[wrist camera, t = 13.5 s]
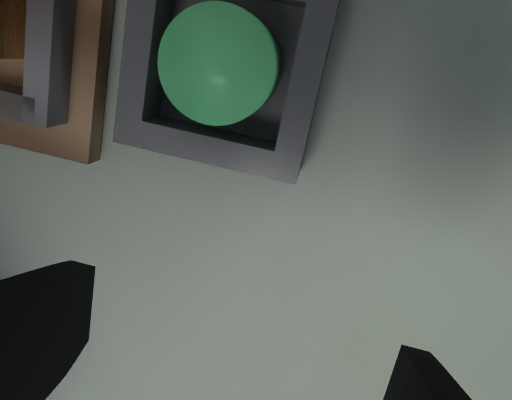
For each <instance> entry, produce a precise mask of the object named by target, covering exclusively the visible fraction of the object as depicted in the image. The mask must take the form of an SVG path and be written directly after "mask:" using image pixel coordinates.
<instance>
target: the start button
mask: <svg viewBox="0 0 512 400" xmlns="http://www.w3.org/2000/svg"><path fill="white" fill-rule="evenodd" d="M157 63H158V73H159V78H160V81H161V85H162V87H163V89H164V92H165V93H166V95H167V97H168V99H169V100H170V101H171V103H172V104H173V105H174V106H175V107H176V108H177V109H178V110H179V111H180V112H181V113H182V114H184V115H185V116H187V117H188V118H190V119H192V120H194V121H196V122H199V123H202V124H205V125H212V126H223V125H229V124H233V123H236V122H239V121H241V120H243V119H245V118H246V117H248V116H250V115H251V114H253V113H254V112H256V111H258V110H259V109H260V108H262V107H263V106H264V105H265V104H266V103H267V102H268V101H269V100H270V98H271V97H272V96H273V94H274V92H275V90H276V88H277V86H278V83H279V80H280V76H281V70H282V59H281V52H280V48H279V45H278V42H277V40H276V38H275V36H274V34H273V33H272V31H271V30H270V28H269V27H268V26H267V25H266V24H265V23H264V22H263V21H262V20H261V19H259V18H258V17H256V16H255V15H253V14H252V13H250V12H248V11H246V10H245V9H243V8H241V7H239V6H237V5H235V4H232V3H228V2H223V1H206V2H201V3H198V4H194V5H192V6H190V7H188V8H186V9H185V10H183V11H182V12H181V13H179V14H178V15H177V16H176V17H175V18H174V19H173V20H172V22H171V23H170V24H169V25H168V27H167V29H166V30H165V32H164V34H163V36H162V39H161V42H160V45H159V50H158V60H157Z"/></svg>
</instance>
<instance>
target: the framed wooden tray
mask: <svg viewBox="0 0 512 400" xmlns="http://www.w3.org/2000/svg"><path fill="white" fill-rule="evenodd" d="M114 3H115V0H27V6H26V29H25V53H24V59H0V143H2V144H6V145H10V146H14V147H18V148H23V149H27V150H31V151H35V152H39V153H43V154H47V155H52V156H56V157H60V158H64V159H68V160H72V161H77V162H81V163H85V164H90V163H92V162H95V161H97V160H99V159H100V148H101V138H102V128H103V117H104V107H105V97H106V86H107V76H108V65H109V55H110V45H111V34H112V24H113V14H114Z"/></svg>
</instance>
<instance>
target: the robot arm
mask: <svg viewBox="0 0 512 400" xmlns="http://www.w3.org/2000/svg"><path fill="white" fill-rule="evenodd" d="M94 276H95V266H91V265H87V264H83V263H79V262H75V261H66V262H61V263H57V264H53V265H49V266H46V267H42V268H39V269H36V270H32V271H29V272H26V273H22V274H19V275H16V276H12V277H9V278H6V279H2V280H0V400H45V399H46V398H47V397H48V396H49V395H50V393H51V392H52V391H53V390H54V389H55V388H56V386H57V385H58V384H59V383H60V382H61V380H62V379H63V378H64V377H65V376H66V374H67V373H68V371H69V370H70V368H71V367H72V365H73V364H74V362H75V361H76V359H77V358H78V356H79V355H80V353H81V351H82V350H83V348H84V347H85V345H86V344H87V342H88V340H89V330H90V319H91V308H92V298H93V287H94ZM383 400H472V399H471V398H470V397H469V396H468V395H467V394H466V392H465V391H464V390H463V389H462V388H461V387H460V385H459V384H458V383H457V382H456V381H455V380H454V378H453V377H452V376H451V375H450V374H449V373H448V371H447V370H446V369H445V368H444V367H443V366H442V365H441V363H440V362H439V361H438V360H437V359H436V358H435V357H434V356H433V355H432V354H431V353H430V352H428V351H424V350H420V349H416V348H412V347H409V346H405V345H401V348H400V351H399V354H398V357H397V360H396V363H395V366H394V369H393V372H392V375H391V378H390V381H389V384H388V387H387V390H386V393H385V396H384V399H383Z"/></svg>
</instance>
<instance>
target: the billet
mask: <svg viewBox="0 0 512 400" xmlns="http://www.w3.org/2000/svg"><path fill="white" fill-rule="evenodd" d="M26 6H27V0H0V59H24V53H25V29H26Z"/></svg>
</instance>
